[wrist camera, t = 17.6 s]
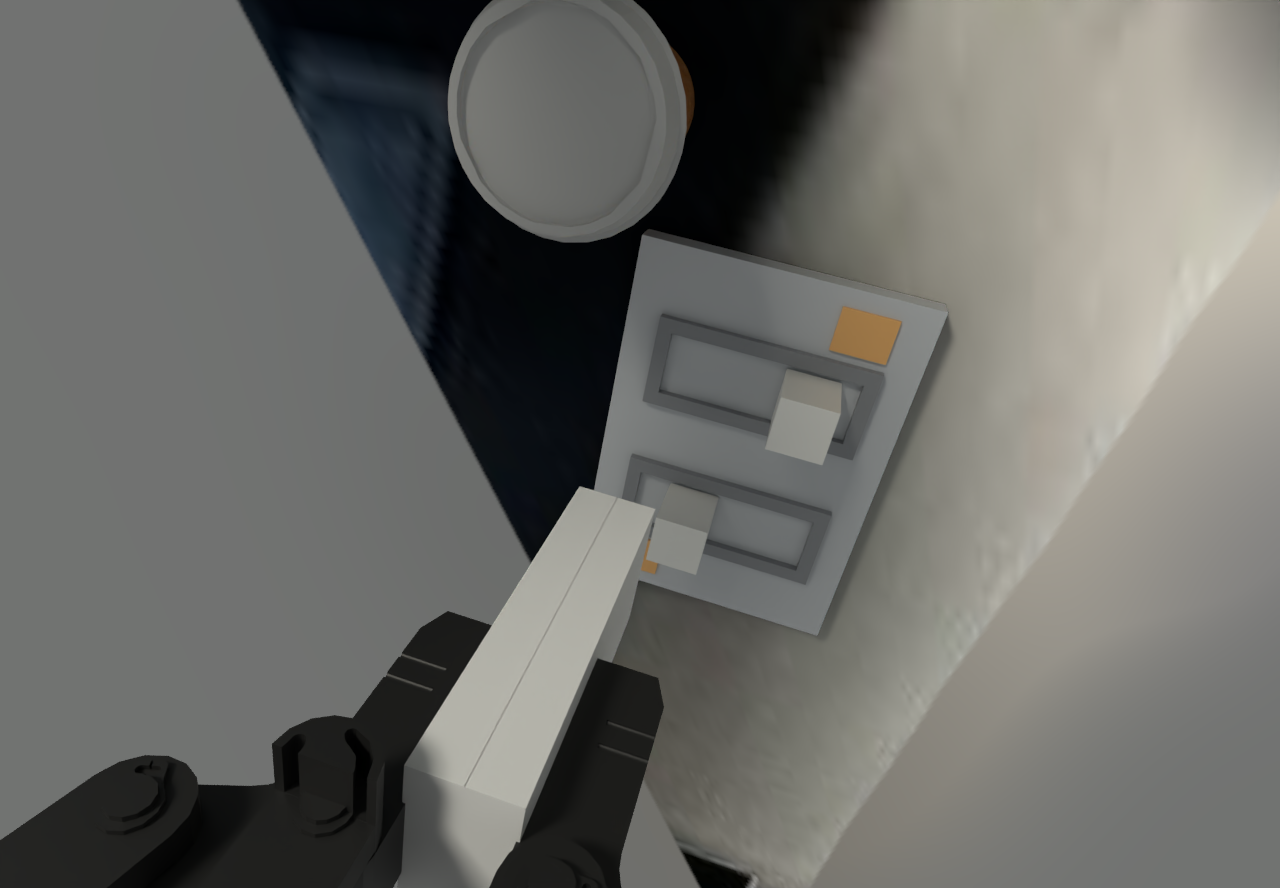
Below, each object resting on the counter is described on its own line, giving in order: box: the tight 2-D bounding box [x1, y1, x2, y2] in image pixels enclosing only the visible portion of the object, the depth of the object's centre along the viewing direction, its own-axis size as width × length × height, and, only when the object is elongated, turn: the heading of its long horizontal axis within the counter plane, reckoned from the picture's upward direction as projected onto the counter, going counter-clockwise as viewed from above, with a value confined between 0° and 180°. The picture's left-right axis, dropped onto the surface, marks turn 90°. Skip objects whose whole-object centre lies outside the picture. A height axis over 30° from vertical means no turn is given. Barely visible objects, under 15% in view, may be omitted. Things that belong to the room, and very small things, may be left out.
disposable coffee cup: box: [448, 0, 695, 242], centre depth 34 cm, size 10×10×12 cm
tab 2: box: [765, 369, 842, 465], centre depth 40 cm, size 3×3×4 cm
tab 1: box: [646, 483, 719, 575], centre depth 45 cm, size 3×3×4 cm
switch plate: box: [594, 229, 948, 636], centre depth 45 cm, size 16×22×2 cm
